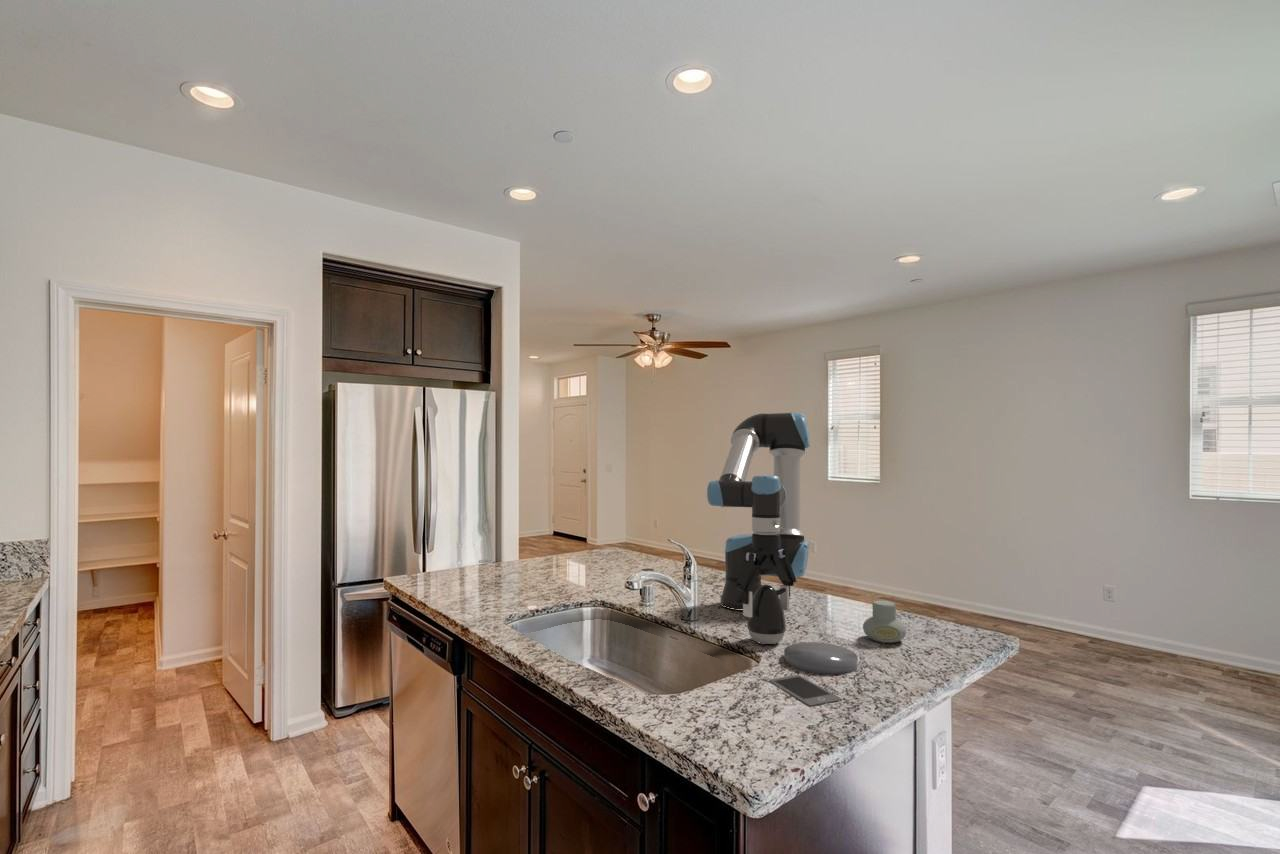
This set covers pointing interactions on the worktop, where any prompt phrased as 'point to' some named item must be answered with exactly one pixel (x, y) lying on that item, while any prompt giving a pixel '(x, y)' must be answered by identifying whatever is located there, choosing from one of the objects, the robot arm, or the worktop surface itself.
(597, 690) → the worktop surface
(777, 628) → the pump dispenser
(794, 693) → the smartphone
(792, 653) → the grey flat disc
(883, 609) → the air freshener
